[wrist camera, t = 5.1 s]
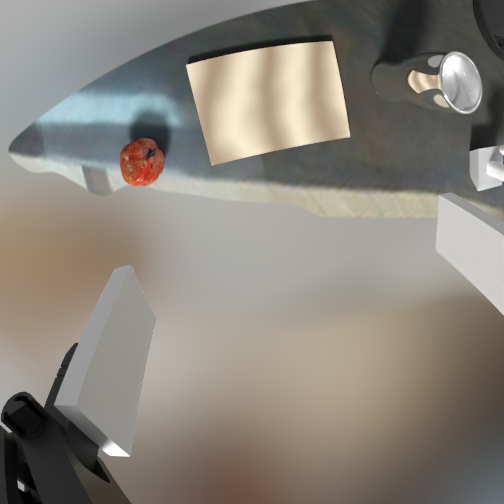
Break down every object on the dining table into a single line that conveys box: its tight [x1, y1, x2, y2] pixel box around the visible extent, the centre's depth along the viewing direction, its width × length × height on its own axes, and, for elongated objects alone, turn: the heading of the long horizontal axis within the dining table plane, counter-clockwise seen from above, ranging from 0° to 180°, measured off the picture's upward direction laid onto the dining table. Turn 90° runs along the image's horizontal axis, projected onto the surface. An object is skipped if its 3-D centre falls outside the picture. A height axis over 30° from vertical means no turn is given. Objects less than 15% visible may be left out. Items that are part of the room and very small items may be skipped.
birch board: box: [186, 41, 350, 166], centre depth 33 cm, size 18×13×1 cm
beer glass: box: [371, 51, 482, 114], centre depth 27 cm, size 7×7×15 cm
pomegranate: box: [120, 138, 164, 186], centre depth 33 cm, size 6×6×8 cm
